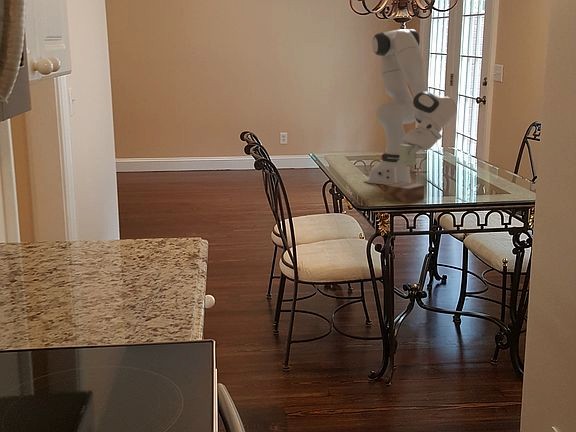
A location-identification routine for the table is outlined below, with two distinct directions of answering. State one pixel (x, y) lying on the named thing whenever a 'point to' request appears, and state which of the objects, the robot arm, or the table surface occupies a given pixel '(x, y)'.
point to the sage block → (406, 155)
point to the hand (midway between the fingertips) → (406, 153)
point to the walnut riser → (404, 191)
